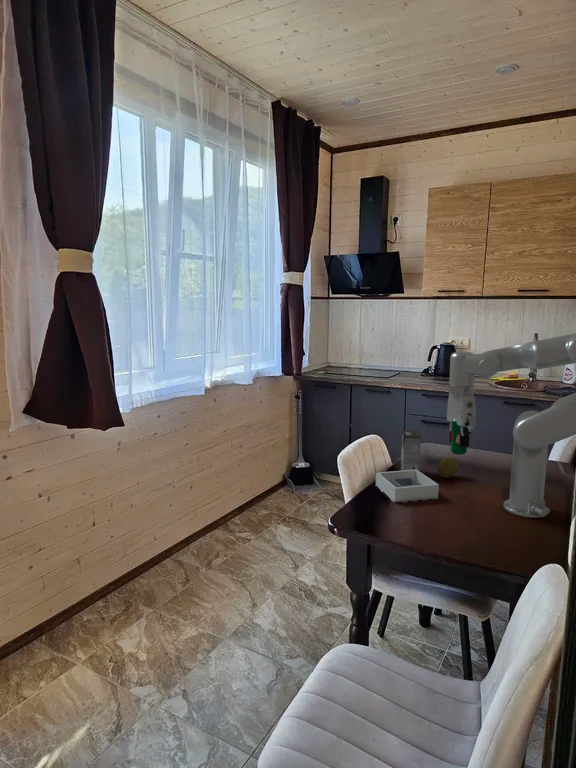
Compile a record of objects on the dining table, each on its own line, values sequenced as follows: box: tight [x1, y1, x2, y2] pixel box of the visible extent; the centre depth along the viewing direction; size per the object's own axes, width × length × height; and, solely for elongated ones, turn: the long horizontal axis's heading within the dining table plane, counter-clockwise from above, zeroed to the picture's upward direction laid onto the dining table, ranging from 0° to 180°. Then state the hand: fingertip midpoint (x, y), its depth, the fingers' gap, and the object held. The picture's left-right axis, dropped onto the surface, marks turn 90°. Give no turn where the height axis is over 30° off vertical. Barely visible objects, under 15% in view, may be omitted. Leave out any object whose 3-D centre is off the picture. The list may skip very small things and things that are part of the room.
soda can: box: [450, 419, 468, 455], centre depth 160 cm, size 5×5×12 cm
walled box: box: [375, 470, 440, 503], centre depth 168 cm, size 16×16×5 cm
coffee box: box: [400, 429, 422, 472], centre depth 186 cm, size 9×6×16 cm
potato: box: [437, 456, 460, 479], centre depth 182 cm, size 7×8×8 cm
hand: (459, 444), depth 161 cm, fingers closed on soda can, 5 cm apart
